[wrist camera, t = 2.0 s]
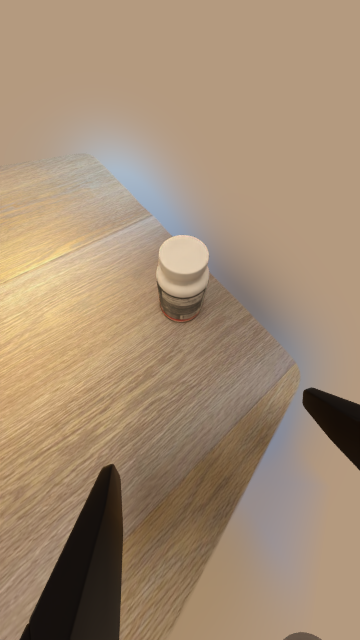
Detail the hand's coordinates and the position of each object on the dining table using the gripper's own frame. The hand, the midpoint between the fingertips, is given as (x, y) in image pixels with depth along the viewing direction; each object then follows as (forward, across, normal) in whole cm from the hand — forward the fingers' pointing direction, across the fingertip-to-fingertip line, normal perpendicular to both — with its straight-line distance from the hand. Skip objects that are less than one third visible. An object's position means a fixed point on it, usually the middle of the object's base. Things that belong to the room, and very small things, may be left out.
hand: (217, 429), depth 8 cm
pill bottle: (+19, -3, 0) cm, 20 cm away
